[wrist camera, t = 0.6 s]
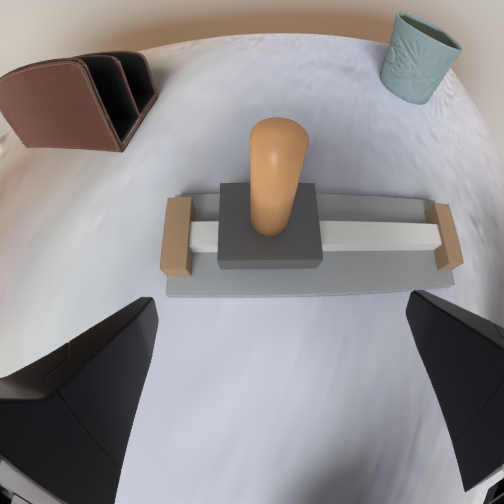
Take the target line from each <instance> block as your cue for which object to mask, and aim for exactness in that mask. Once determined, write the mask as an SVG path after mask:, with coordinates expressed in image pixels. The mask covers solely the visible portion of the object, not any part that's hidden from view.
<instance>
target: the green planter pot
mask: <svg viewBox="0 0 504 504" xmlns="http://www.w3.org/2000/svg"><path fill="white" fill-rule="evenodd" d="M389 44H390V46H389V48H388V51H387V55H386V58H385V62H384V65H383V68H382V71H381V74H380V78H381V81H382V83H383V84H384V86H385V87H386V88H387V89H388V90H389V91H390V92H392V93H393V94H394V95H396V96H398V97H399V98H401V99H403V100H405V101H407V102H410V103H413V104H418V105H422V104H425V103H426V102H428V100H429V99H430V97H431V96H432V94H433V92H434V90H436V89H437V86H439V84H440V82H441V81H442V80H443V78H444V76H445V75H446V73H447V72H448V70H449V68H450V67H451V65H452V64H453V63H454V61H455V60H456V58H457V57H458V56H459V54H460V53H461V51H462V48H461V46H460V45H459V43H458V42H457V41H456V40H454V39H453V38H452V37H451V36H450V35H449V34H447V33H446V32H444V31H443V30H441V29H440V28H438V27H437V26H435V25H433V24H431V23H429V22H428V21H426V20H424V19H421V18H419V17H417V16H414V15H411V14H408V13H403V12H398V13H396V17H395V22H394V26H393V32H392V35H391V41H390V43H389Z"/></svg>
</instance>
